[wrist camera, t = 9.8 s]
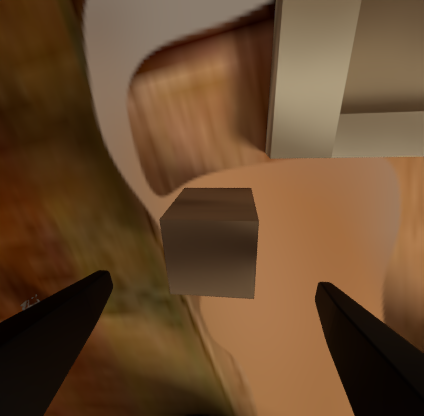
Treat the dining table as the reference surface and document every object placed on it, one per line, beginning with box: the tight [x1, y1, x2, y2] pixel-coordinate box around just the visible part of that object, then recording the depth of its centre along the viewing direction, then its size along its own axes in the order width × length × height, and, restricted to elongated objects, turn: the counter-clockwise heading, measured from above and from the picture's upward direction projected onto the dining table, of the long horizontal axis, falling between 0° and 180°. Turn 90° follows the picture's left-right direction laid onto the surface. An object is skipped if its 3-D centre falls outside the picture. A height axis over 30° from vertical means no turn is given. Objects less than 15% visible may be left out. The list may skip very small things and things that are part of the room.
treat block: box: [160, 188, 259, 299], centre depth 12 cm, size 4×4×5 cm
